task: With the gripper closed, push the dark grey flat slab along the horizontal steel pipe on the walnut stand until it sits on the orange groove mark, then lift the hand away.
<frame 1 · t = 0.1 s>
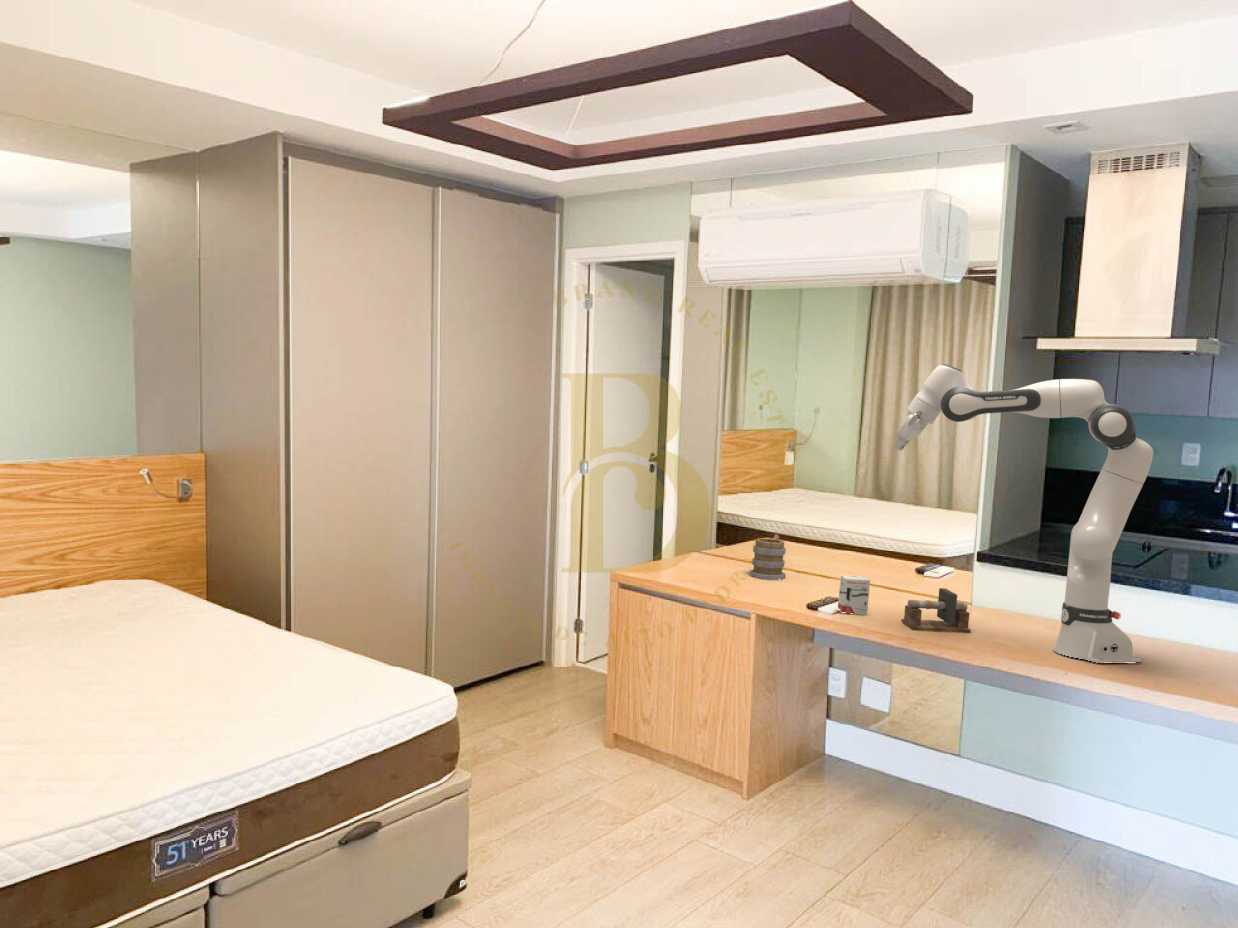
hand: (896, 449, 284), 54 cm above the worktop, tool tilted 30°, fingers open, 8 cm apart
pipe stand: (935, 627, 286), on the worktop
ink box: (852, 613, 299), on the worktop
tankard: (769, 575, 355), on the worktop
dark grey flat slab: (946, 605, 286), point 7 cm above the worktop, slide at 0.0 cm
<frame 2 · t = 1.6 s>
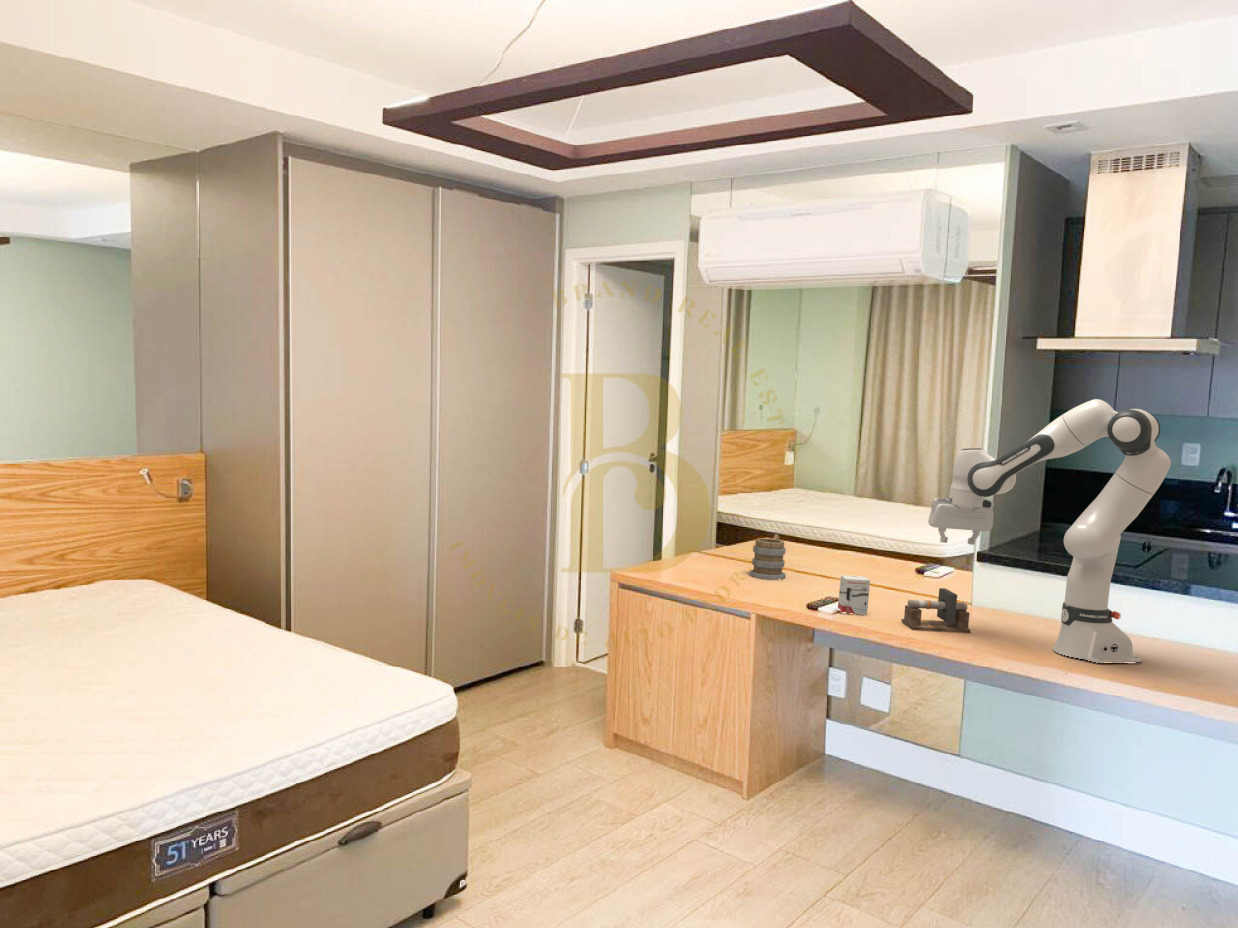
hand: (957, 543, 286), 26 cm above the worktop, tool pointing down, fingers open, 8 cm apart
nothing on the worktop moved.
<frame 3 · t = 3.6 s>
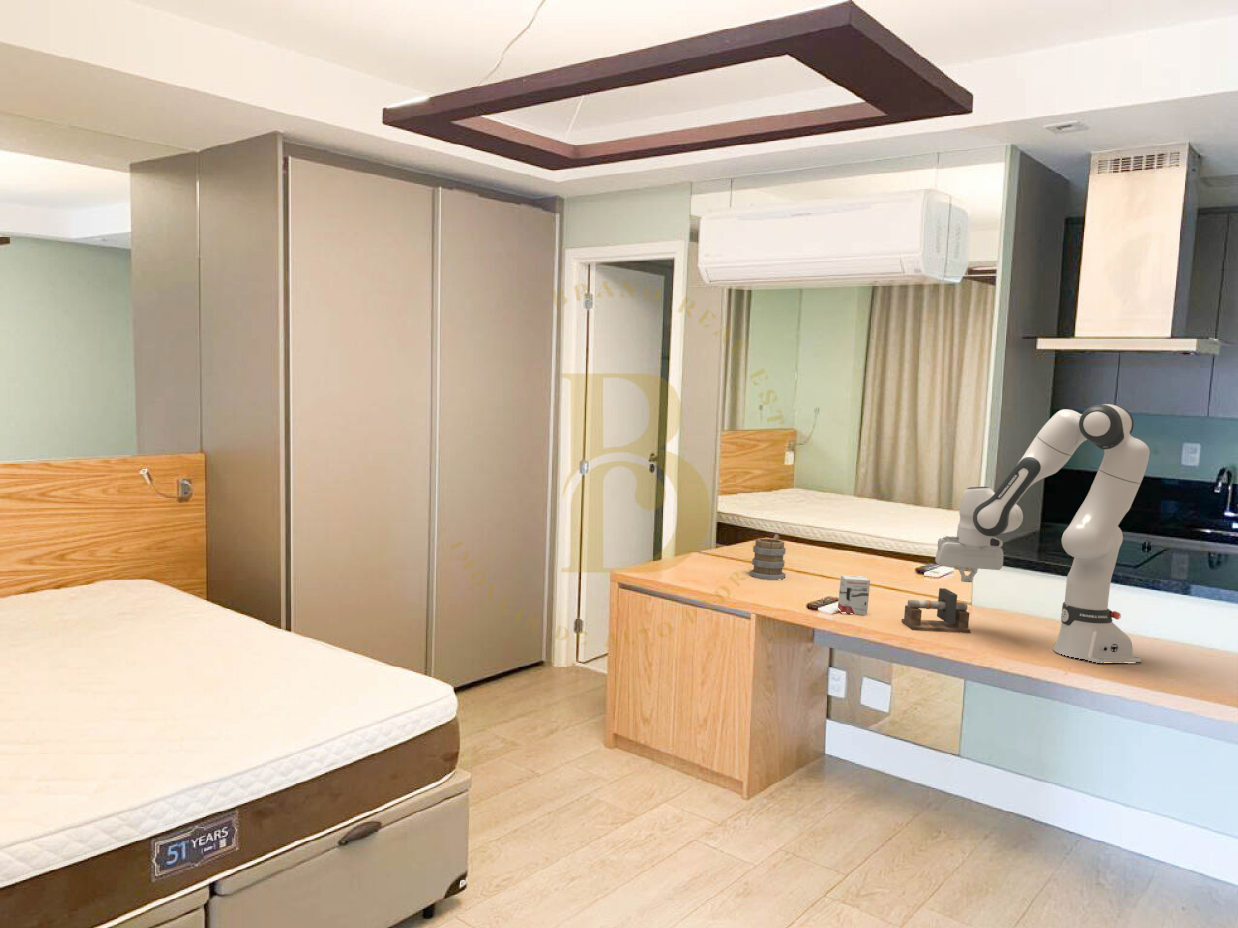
hand: (966, 581, 286), 15 cm above the worktop, tool pointing down, fingers closed
nothing on the worktop moved.
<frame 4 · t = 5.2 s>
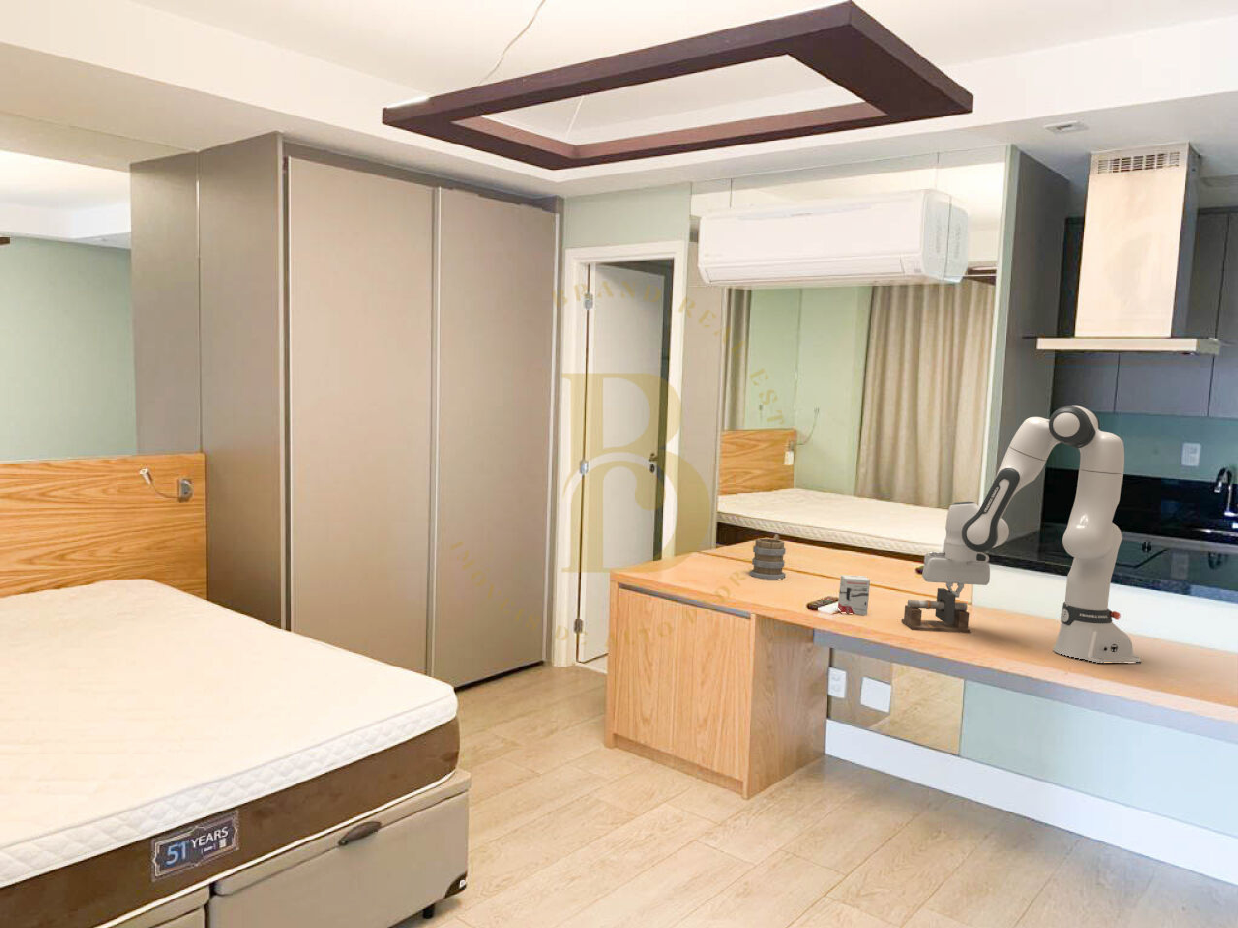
hand: (953, 597, 286), 10 cm above the worktop, tool pointing down, fingers closed
dark grey flat slab: (945, 605, 286), point 7 cm above the worktop, slide at 0.5 cm, touching gripper
everything else where it was.
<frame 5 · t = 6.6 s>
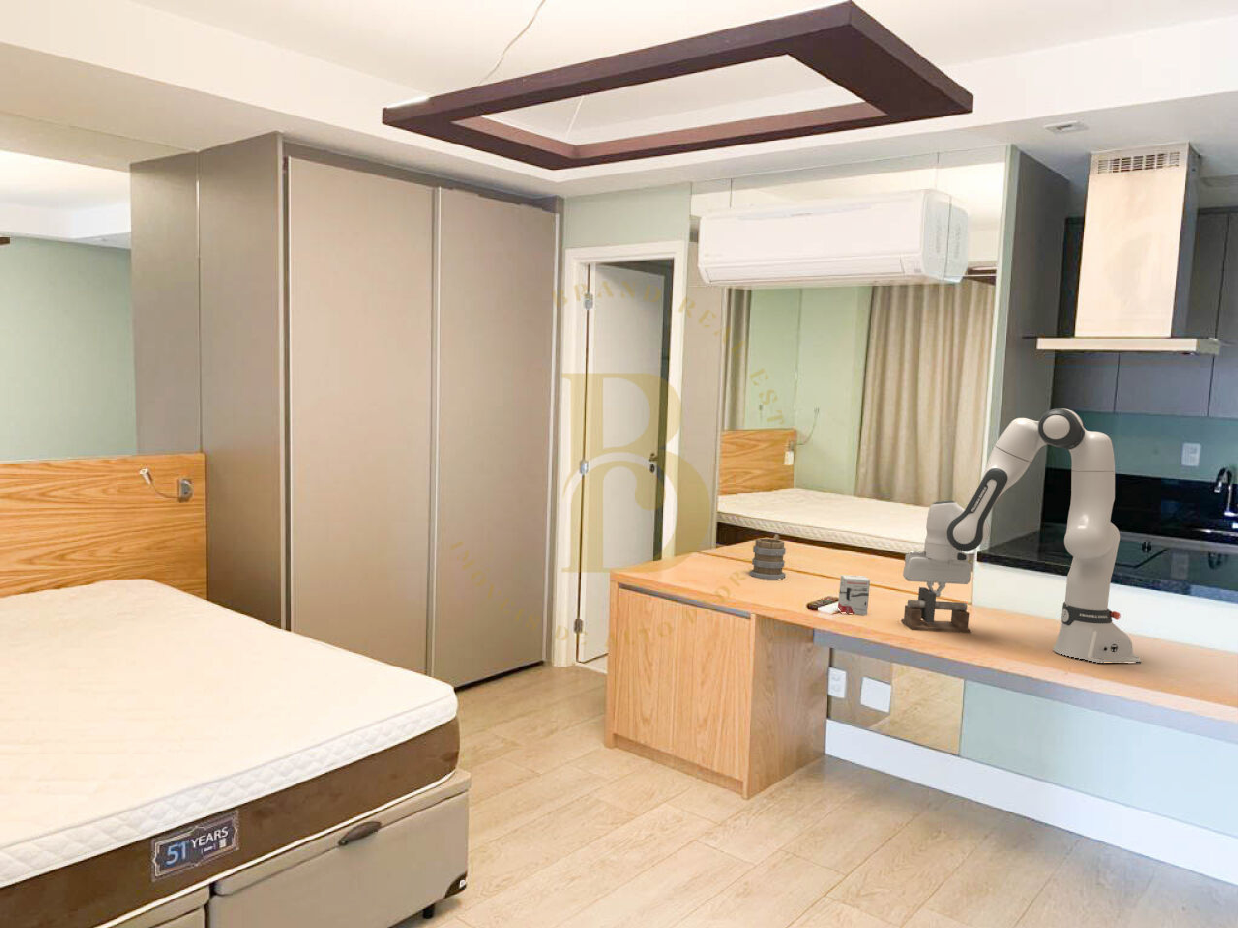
hand: (934, 596, 286), 10 cm above the worktop, tool pointing down, fingers closed
dark grey flat slab: (926, 604, 285), point 7 cm above the worktop, slide at 6.5 cm, touching gripper
everything else where it was.
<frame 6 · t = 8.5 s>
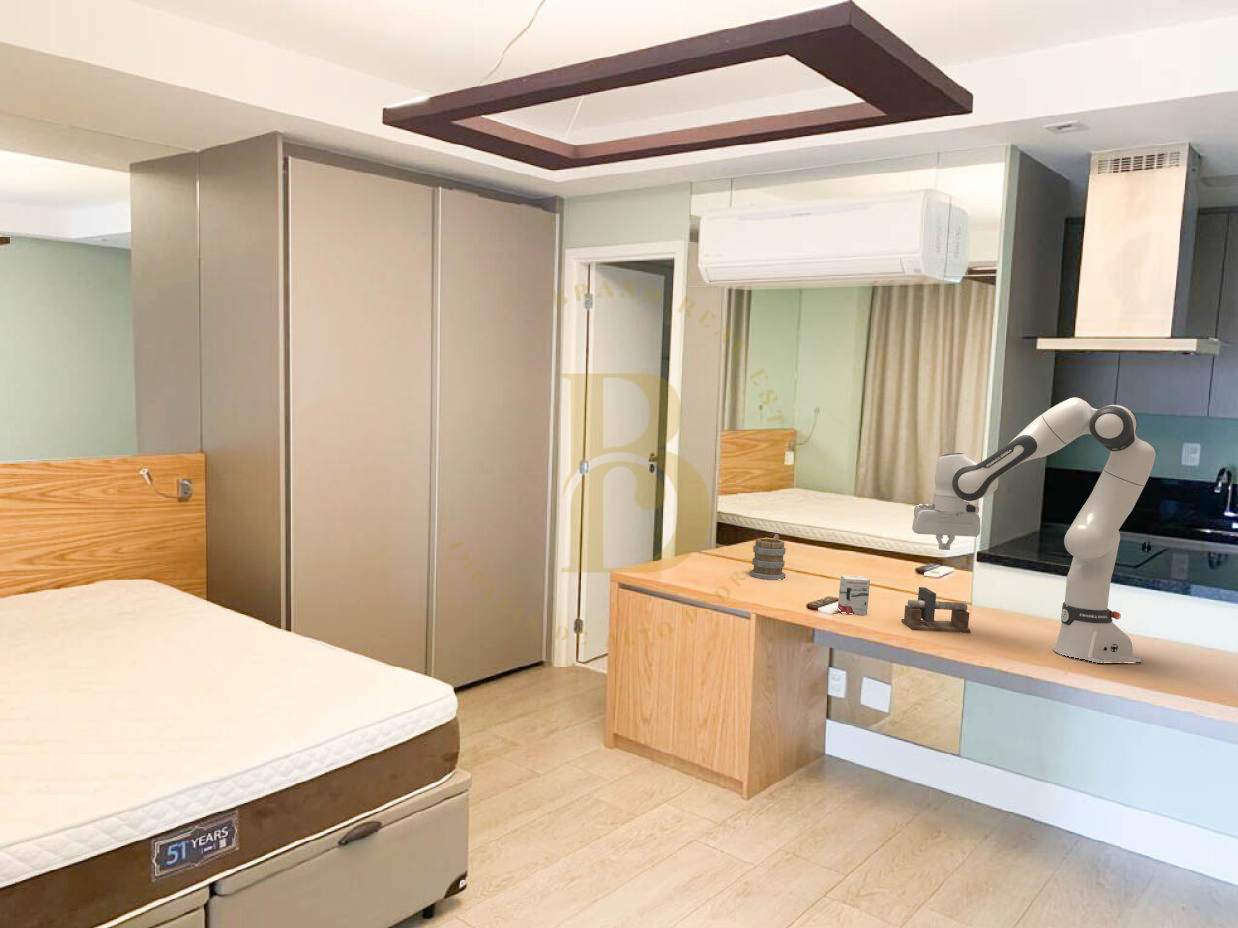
hand: (944, 549, 284), 25 cm above the worktop, tool pointing down, fingers closed
dark grey flat slab: (926, 604, 285), point 7 cm above the worktop, slide at 6.5 cm
everything else where it was.
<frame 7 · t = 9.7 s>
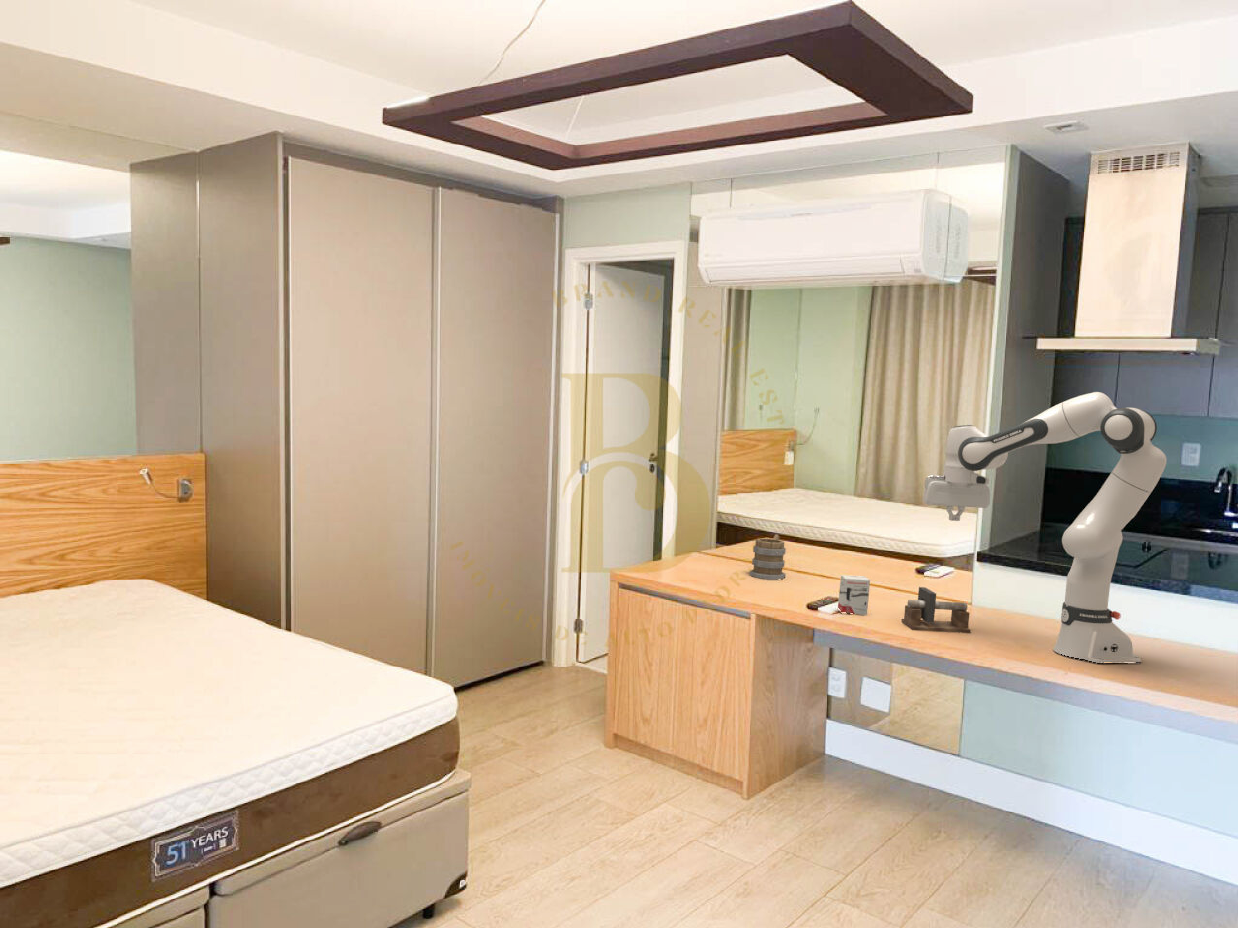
hand: (954, 520, 289), 33 cm above the worktop, tool pointing down, fingers closed
nothing on the worktop moved.
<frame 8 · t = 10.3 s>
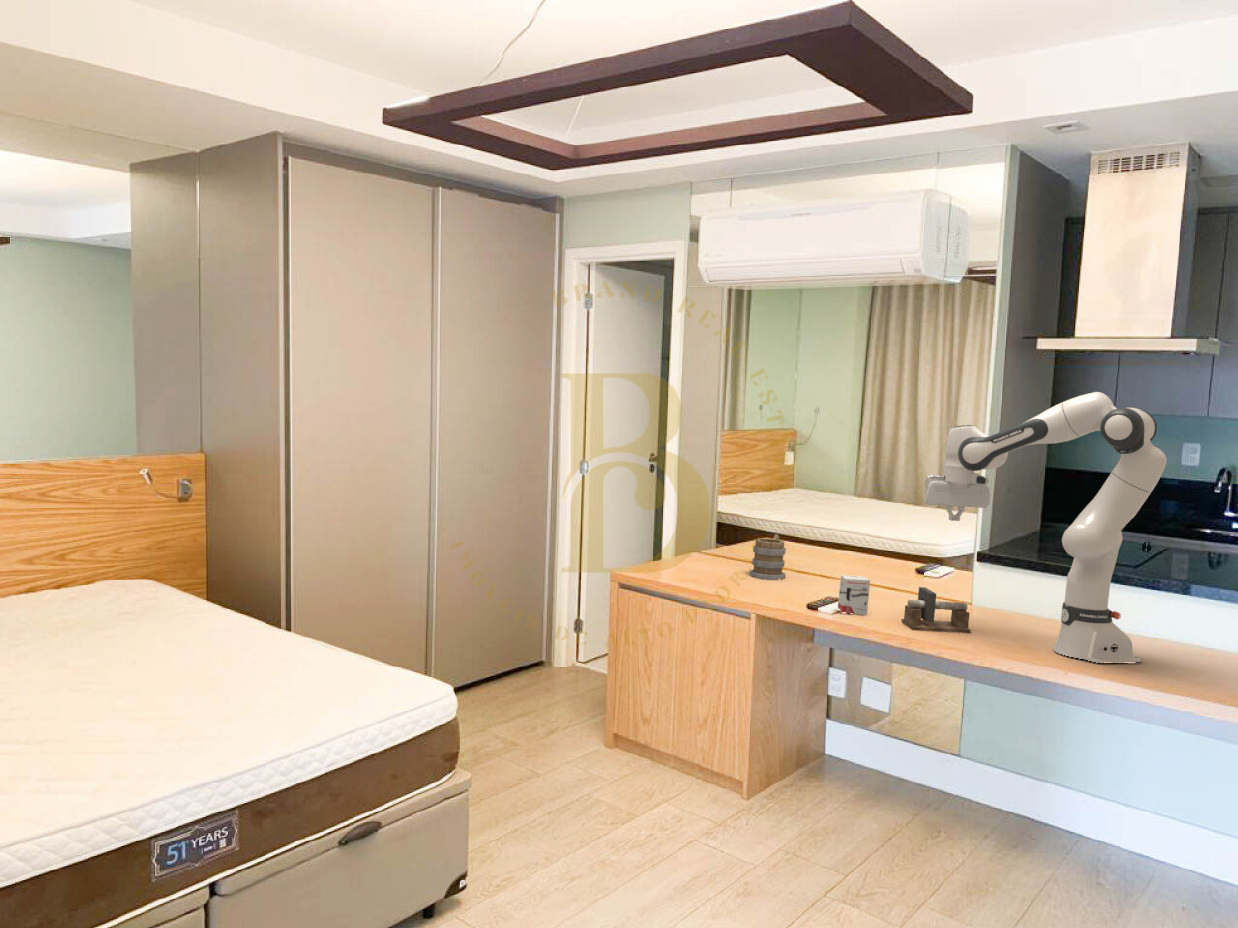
hand: (954, 520, 289), 33 cm above the worktop, tool pointing down, fingers closed
nothing on the worktop moved.
at the end: dark grey flat slab slide at 6.5 cm; ink box moved 0.2 cm from its start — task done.
